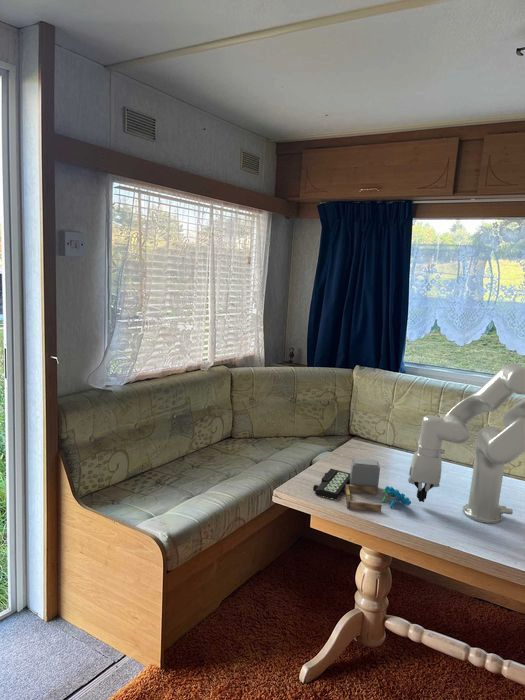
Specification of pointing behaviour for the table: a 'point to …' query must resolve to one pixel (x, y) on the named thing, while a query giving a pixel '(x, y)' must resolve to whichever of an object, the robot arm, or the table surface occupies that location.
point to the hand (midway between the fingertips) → (420, 500)
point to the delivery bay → (361, 504)
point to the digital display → (332, 484)
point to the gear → (395, 496)
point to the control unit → (364, 473)
